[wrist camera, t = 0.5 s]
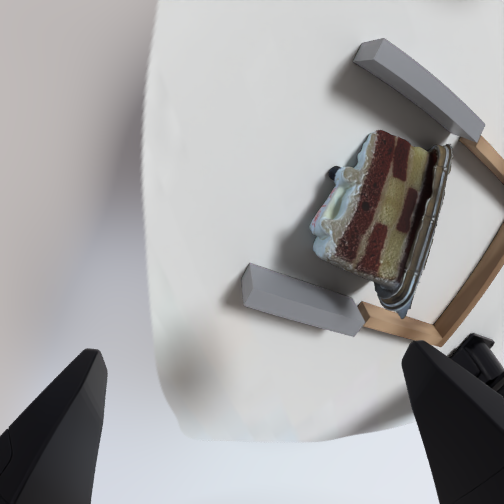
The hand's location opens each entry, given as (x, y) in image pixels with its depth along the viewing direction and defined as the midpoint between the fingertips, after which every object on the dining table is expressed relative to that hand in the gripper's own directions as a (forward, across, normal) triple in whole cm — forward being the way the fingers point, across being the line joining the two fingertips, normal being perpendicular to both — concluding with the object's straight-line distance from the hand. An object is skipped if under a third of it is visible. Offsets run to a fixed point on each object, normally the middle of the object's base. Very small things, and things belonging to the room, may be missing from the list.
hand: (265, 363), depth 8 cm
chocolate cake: (+14, -9, 0) cm, 16 cm away
